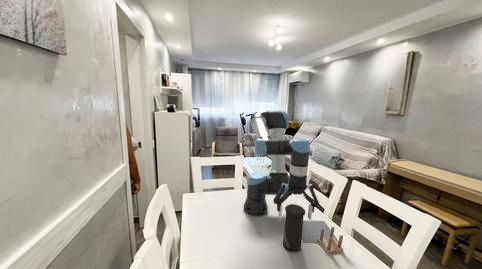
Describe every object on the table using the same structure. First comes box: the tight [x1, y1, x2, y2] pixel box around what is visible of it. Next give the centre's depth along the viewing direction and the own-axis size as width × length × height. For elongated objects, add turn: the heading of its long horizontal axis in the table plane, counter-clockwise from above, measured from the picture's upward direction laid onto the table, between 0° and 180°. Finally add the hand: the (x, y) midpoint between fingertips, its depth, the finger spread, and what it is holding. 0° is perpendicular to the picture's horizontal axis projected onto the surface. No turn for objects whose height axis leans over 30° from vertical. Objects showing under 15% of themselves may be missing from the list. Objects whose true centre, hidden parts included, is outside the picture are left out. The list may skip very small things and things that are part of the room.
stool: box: [317, 226, 344, 255], centre depth 92 cm, size 8×8×8 cm
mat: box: [302, 219, 339, 244], centre depth 103 cm, size 18×18×1 cm
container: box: [282, 203, 306, 253], centre depth 90 cm, size 9×9×20 cm
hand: (294, 218), depth 89 cm, fingers open, 13 cm apart
